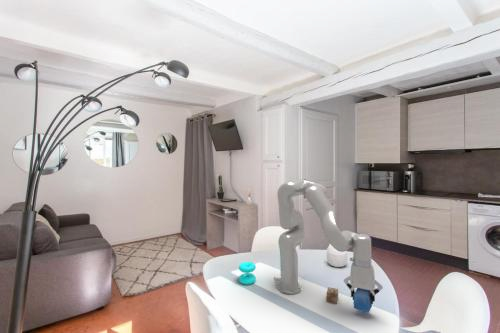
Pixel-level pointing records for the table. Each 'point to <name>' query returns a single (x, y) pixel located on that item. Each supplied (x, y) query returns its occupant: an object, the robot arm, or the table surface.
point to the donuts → (247, 273)
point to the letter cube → (332, 295)
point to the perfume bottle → (362, 300)
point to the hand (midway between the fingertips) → (362, 300)
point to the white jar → (336, 257)
